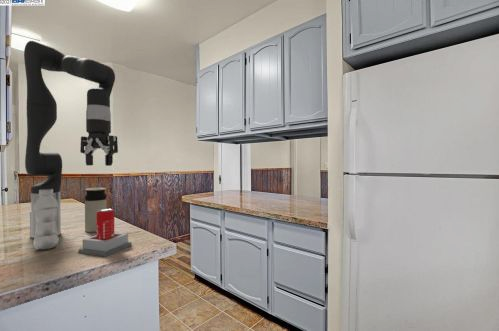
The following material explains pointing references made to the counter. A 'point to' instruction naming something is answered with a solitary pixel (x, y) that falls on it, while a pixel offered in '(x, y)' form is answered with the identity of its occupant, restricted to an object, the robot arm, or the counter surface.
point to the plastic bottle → (46, 220)
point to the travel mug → (93, 207)
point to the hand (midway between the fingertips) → (99, 165)
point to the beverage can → (105, 224)
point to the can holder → (104, 245)
